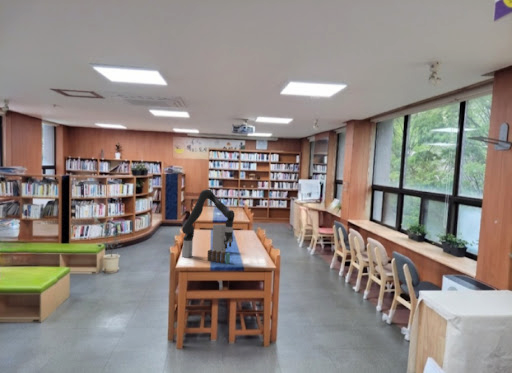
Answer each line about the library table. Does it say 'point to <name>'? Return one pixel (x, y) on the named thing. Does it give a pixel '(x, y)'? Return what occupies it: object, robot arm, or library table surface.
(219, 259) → the domino
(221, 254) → the domino
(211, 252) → the domino
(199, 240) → the library table surface
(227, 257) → the domino
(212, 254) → the domino
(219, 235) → the tall gray block
